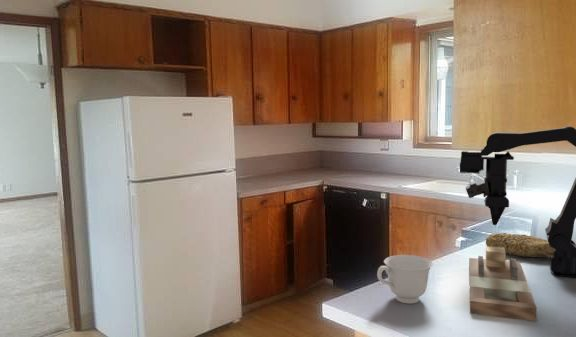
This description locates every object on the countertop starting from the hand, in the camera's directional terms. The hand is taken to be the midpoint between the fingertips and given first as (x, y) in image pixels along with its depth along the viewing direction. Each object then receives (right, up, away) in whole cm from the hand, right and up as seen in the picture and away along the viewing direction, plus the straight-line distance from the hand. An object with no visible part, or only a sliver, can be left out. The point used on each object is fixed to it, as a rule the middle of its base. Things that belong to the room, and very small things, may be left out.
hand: (494, 224), depth 144 cm
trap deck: (-7, -15, -18) cm, 25 cm away
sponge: (+14, -12, +13) cm, 22 cm away
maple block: (-3, -11, -6) cm, 13 cm away
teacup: (-34, -17, -23) cm, 44 cm away
